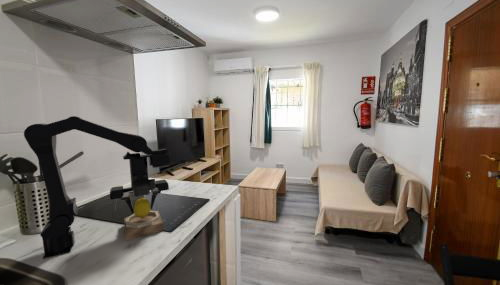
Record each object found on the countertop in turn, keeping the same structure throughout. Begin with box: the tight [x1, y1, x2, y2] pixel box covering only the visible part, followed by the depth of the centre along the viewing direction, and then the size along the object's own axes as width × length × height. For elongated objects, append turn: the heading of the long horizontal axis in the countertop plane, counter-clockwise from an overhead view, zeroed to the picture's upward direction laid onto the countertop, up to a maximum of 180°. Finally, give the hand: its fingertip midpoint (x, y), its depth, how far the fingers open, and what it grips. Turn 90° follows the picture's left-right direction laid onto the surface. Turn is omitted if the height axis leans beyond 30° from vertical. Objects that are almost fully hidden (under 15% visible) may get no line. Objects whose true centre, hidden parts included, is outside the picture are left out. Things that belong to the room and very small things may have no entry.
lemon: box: [133, 197, 151, 219], centre depth 80 cm, size 6×6×8 cm
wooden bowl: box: [123, 210, 164, 241], centre depth 81 cm, size 12×12×4 cm
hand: (142, 211), depth 80 cm, fingers open, 6 cm apart
